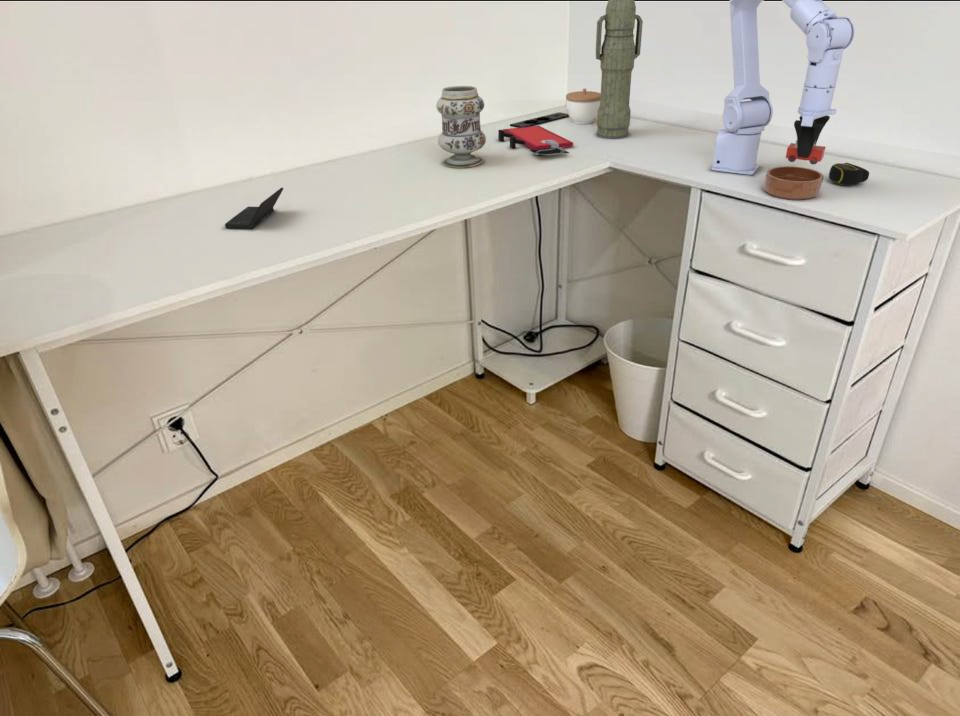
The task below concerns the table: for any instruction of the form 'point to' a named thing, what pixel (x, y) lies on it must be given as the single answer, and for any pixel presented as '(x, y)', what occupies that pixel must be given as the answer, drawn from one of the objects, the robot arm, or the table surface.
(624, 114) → the green vase
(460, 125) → the apothecary jar
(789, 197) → the bowl
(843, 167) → the tape measure
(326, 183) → the table surface
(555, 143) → the red board with handle
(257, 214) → the handheld gaming console
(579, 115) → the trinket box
